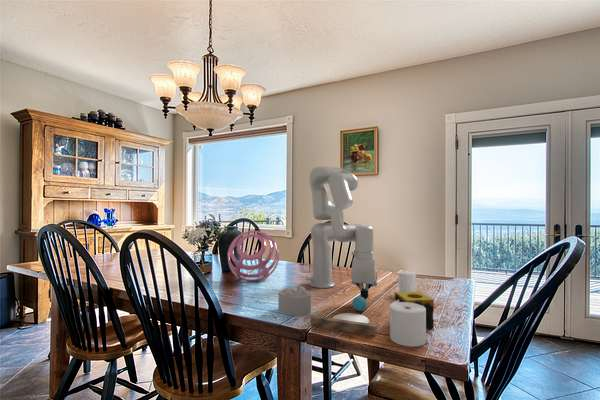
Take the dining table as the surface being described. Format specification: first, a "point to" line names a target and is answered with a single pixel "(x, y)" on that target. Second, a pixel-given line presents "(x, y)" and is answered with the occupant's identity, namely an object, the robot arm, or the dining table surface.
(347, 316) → the disc
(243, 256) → the spiral basket
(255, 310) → the dining table surface
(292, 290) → the lumpy-topped squat cylinder
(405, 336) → the toilet tissue
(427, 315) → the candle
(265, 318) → the dining table surface
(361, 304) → the ball
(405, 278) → the white cup
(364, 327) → the stopper rail
